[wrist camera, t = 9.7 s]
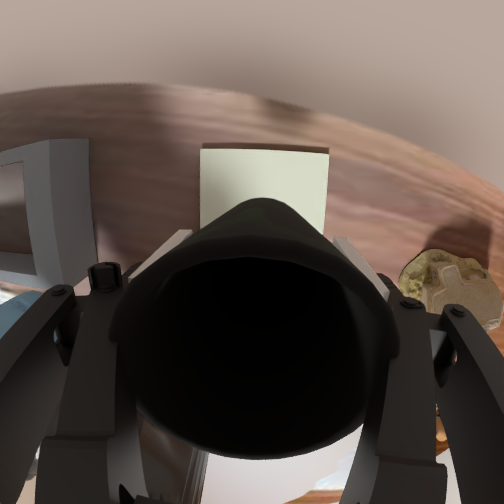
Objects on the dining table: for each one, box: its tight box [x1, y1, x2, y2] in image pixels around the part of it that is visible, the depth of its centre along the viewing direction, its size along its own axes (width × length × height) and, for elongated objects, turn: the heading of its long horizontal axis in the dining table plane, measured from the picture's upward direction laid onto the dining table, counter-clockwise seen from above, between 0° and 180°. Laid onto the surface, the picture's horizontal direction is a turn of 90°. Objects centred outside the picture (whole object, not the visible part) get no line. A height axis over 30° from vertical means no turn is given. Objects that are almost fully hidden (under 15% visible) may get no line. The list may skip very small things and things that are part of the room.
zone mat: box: [200, 149, 329, 235], centre depth 28 cm, size 12×12×1 cm
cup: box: [108, 197, 401, 460], centre depth 12 cm, size 8×8×12 cm
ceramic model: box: [399, 249, 503, 334], centre depth 26 cm, size 14×11×10 cm
